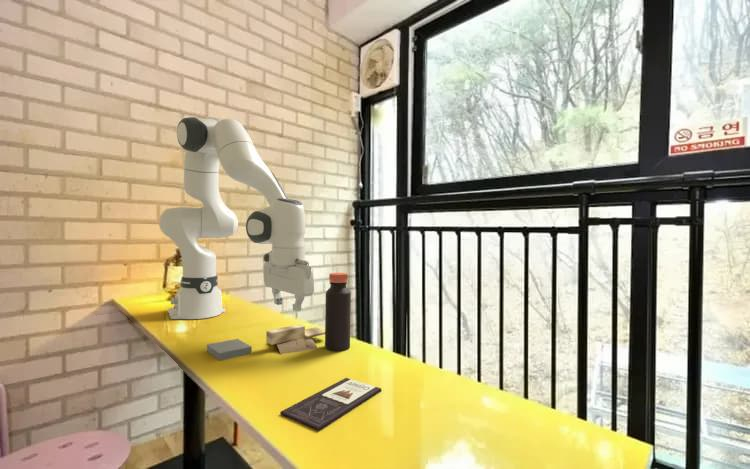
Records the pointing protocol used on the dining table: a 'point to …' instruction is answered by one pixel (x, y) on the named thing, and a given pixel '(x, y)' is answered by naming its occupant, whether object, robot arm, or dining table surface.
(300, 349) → the curved brown bark piece
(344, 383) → the chocolate bar
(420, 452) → the dining table surface
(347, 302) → the bottle
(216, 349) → the grey framed square panel
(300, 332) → the stepped wooden block
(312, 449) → the dining table surface
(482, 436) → the dining table surface
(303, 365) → the dining table surface
